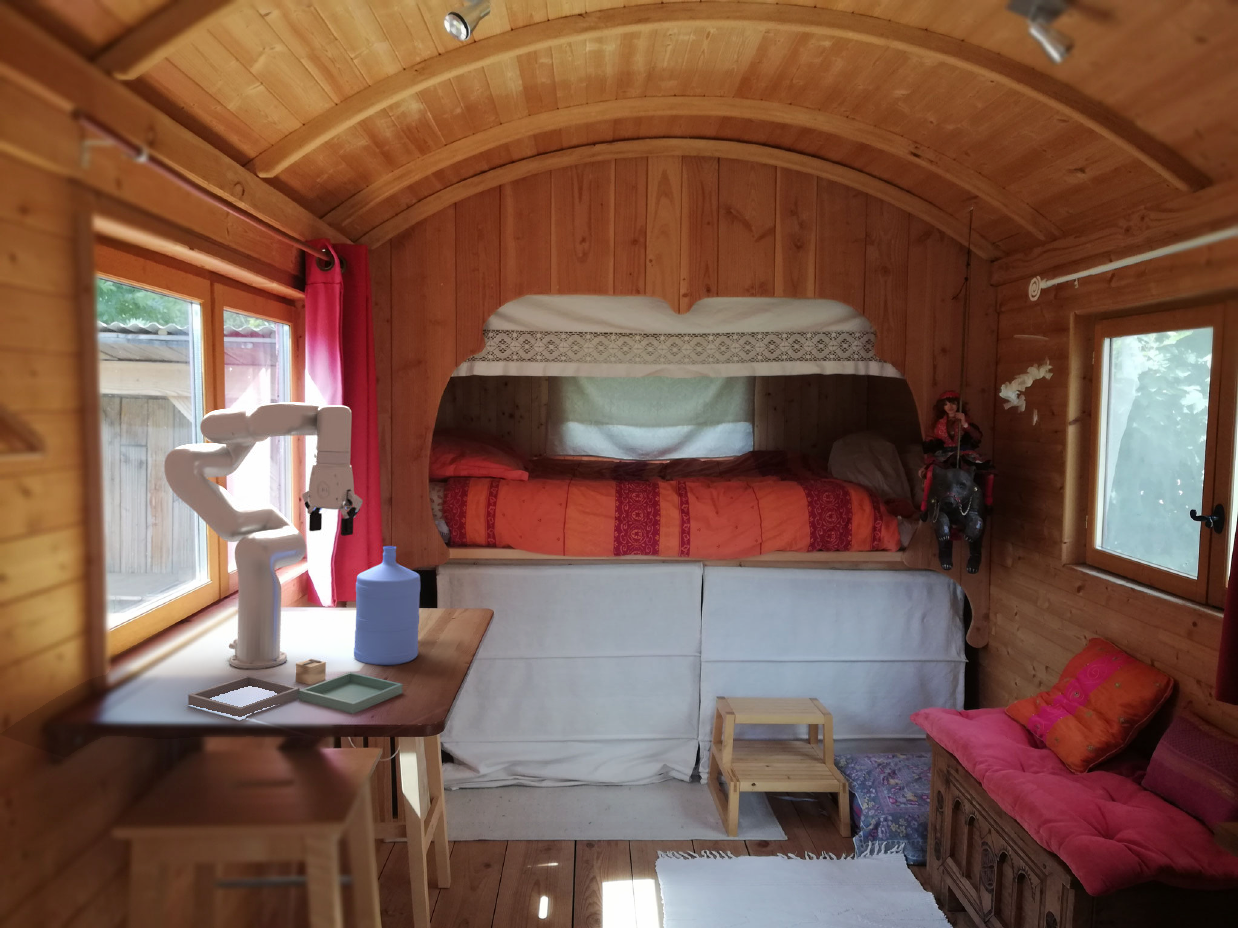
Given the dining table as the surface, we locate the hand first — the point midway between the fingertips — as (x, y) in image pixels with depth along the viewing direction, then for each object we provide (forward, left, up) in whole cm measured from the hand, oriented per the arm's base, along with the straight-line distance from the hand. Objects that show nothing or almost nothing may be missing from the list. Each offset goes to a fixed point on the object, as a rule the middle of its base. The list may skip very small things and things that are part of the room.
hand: (331, 532), depth 193 cm
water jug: (+2, +18, -34) cm, 38 cm away
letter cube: (+1, -6, -33) cm, 34 cm away
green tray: (+16, -9, -33) cm, 38 cm away
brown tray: (0, -23, -33) cm, 40 cm away
